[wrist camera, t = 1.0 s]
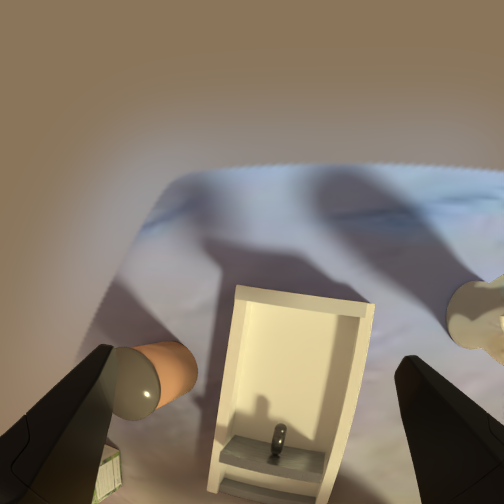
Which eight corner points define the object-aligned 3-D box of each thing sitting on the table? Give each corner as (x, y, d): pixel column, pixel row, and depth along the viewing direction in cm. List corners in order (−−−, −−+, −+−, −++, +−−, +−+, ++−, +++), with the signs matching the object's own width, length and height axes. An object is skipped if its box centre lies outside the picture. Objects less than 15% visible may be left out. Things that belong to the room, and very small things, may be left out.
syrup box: (84, 433, 31) (-6, 466, 17) (122, 450, 29) (30, 497, 15) (88, 470, 30) (7, 508, 16) (125, 487, 28) (44, 539, 14)
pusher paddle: (322, 461, 23) (320, 483, 20) (233, 443, 26) (218, 461, 22) (332, 423, 24) (332, 441, 20) (239, 405, 26) (224, 420, 22)
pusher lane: (324, 502, 23) (319, 538, 18) (215, 479, 26) (191, 508, 21) (371, 304, 26) (381, 304, 20) (245, 286, 29) (223, 282, 23)
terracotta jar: (195, 403, 28) (152, 431, 20) (144, 387, 30) (94, 405, 22) (203, 346, 29) (159, 359, 21) (150, 333, 30) (97, 339, 23)
